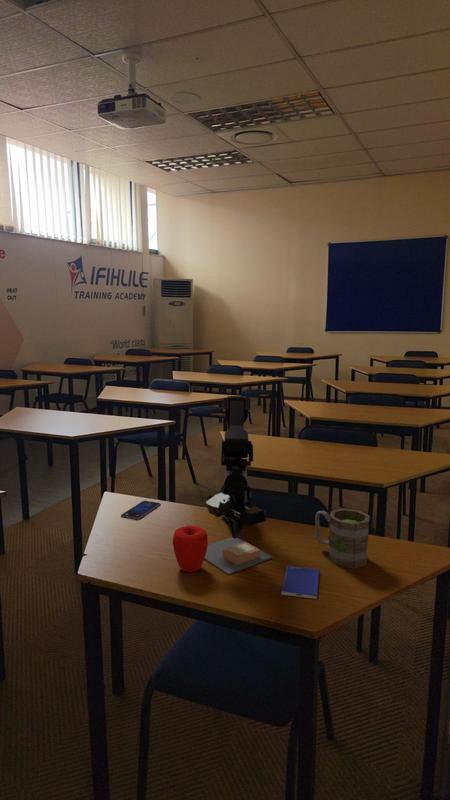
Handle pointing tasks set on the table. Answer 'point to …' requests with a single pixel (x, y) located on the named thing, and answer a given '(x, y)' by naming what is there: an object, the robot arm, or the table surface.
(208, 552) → the mat
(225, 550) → the tile
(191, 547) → the apple
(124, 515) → the smartphone
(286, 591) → the hard drive
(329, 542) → the mug
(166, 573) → the table surface
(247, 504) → the robot arm
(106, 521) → the table surface
